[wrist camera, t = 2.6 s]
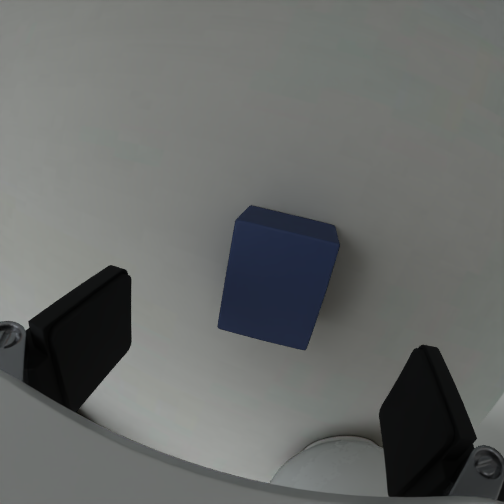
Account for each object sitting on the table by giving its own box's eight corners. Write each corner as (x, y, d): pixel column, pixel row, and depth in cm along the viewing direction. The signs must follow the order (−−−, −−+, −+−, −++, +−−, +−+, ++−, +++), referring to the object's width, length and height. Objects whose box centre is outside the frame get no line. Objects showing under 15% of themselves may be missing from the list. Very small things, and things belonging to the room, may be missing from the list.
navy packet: (249, 204, 14) (235, 218, 12) (335, 225, 14) (340, 244, 11) (231, 299, 16) (216, 328, 14) (308, 318, 16) (305, 351, 13)
